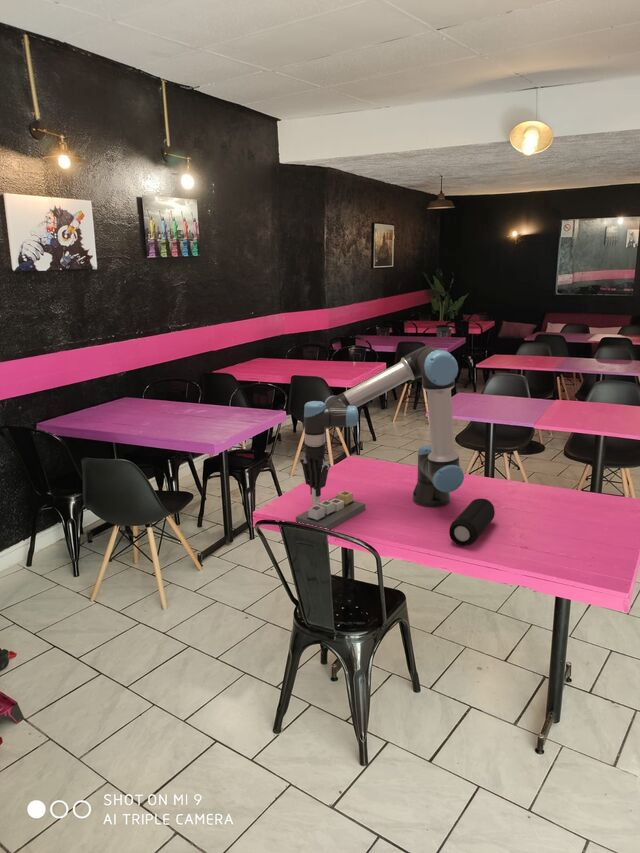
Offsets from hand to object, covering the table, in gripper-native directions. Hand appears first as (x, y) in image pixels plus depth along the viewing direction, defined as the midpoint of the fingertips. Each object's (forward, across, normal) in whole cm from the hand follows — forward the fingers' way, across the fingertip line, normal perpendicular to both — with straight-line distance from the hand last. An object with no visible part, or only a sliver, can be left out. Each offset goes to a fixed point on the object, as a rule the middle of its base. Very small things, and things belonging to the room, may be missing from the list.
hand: (315, 503), depth 234 cm
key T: (+7, 0, -12) cm, 14 cm away
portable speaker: (+8, -50, -28) cm, 58 cm away
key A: (+5, 0, -6) cm, 8 cm away
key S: (+5, 0, -18) cm, 19 cm away
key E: (+5, 0, 0) cm, 5 cm away
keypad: (+8, 0, -9) cm, 12 cm away
